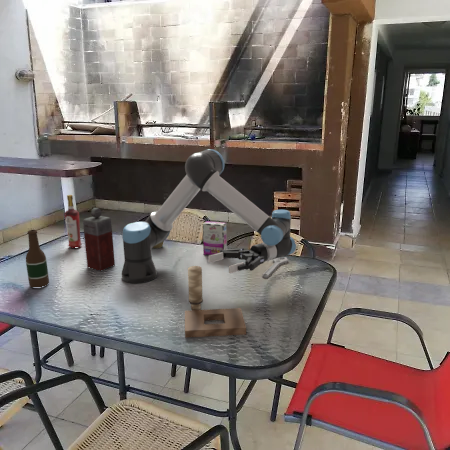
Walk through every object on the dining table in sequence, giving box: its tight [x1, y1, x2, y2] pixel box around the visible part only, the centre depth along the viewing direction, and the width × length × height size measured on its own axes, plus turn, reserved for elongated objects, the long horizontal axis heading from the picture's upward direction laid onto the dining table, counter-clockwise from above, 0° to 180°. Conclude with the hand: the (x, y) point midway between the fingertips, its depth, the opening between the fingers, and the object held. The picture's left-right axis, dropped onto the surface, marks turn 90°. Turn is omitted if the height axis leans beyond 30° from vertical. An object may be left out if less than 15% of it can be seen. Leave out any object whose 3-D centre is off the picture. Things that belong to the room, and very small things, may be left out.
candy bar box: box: [202, 221, 228, 256], centre depth 214 cm, size 11×5×16 cm, turn 69°
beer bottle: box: [25, 229, 50, 288], centre depth 178 cm, size 8×8×24 cm
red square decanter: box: [82, 207, 116, 272], centre depth 198 cm, size 9×11×28 cm
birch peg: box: [187, 265, 204, 310], centre depth 158 cm, size 5×5×16 cm
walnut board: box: [184, 307, 247, 338], centre depth 148 cm, size 20×14×2 cm
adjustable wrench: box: [261, 256, 289, 279], centre depth 198 cm, size 25×6×2 cm, turn 149°
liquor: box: [63, 194, 83, 249], centre depth 225 cm, size 7×7×28 cm
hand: (218, 264), depth 161 cm, fingers open, 13 cm apart
